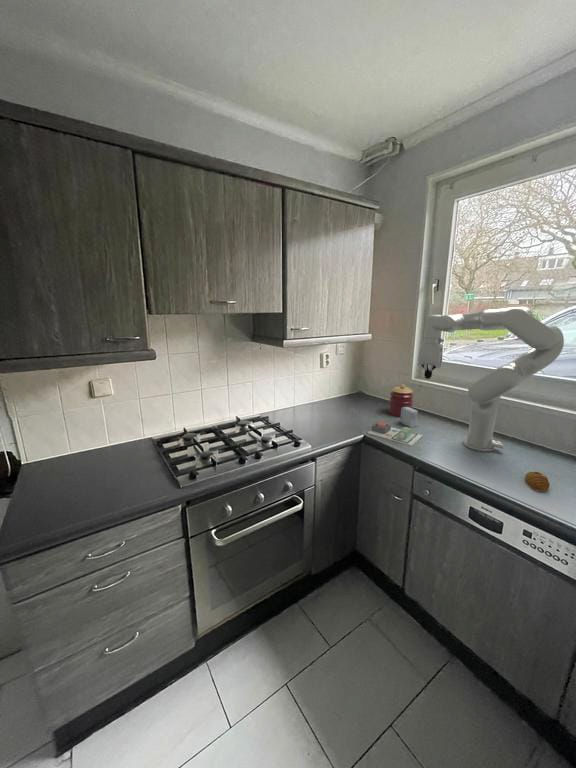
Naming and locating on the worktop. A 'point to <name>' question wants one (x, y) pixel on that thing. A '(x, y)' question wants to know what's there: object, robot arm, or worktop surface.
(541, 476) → the pastry
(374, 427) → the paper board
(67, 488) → the worktop surface
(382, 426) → the button
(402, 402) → the canister
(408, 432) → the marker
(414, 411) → the medicine box
